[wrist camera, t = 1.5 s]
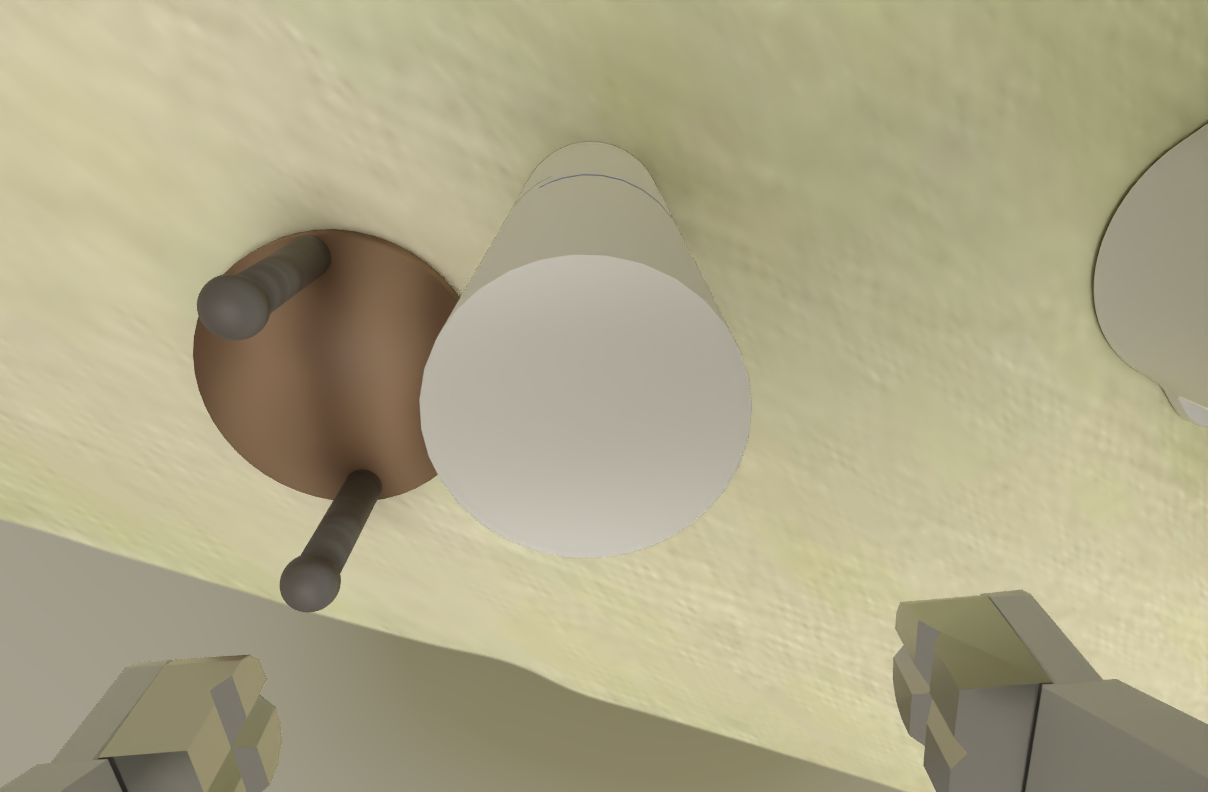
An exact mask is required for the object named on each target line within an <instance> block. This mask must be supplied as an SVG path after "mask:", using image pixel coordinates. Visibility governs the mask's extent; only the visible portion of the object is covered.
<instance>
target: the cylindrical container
mask: <svg viewBox="0 0 1208 792" xmlns="http://www.w3.org/2000/svg"><path fill="white" fill-rule="evenodd" d="M419 401H420V417H421V430H422V434H423V437H424V441H425V445H426V448H427V452H428V456H429V458H430V460H431V462H432V464H433V466H434V468H435V470H436V472H437V474H438V476H439V478H440V480H441V482H442V483H443V484H444V485H445V487H446V488H447V489H448V491H449V492H450V493H451V495H452V496H453V497H454V499H455V500H456V501H457V503H458V504H459V505H460V506H461V507H462V508H464V509H465V510H466V511H467V512H468V513H469V514H470V515H471V516H472V517H474V518H475V519H476V520H477V521H478V522H479V523H480V524H481V525H483V526H485V527H486V528H488V529H490V530H491V531H493V532H495V533H496V534H498V535H500V536H501V537H503V538H505V539H506V540H508V541H510V542H513V543H516V544H518V545H521V546H524V547H526V548H529V549H531V550H534V551H537V552H541V553H547V554H552V555H557V556H562V557H568V558H602V557H609V556H616V555H623V554H628V553H631V552H634V551H638V550H641V549H644V548H647V547H651V546H653V545H655V544H657V543H659V542H661V541H663V540H665V539H667V538H669V537H671V536H673V535H675V534H677V533H679V532H680V531H682V530H683V529H684V528H686V527H687V526H688V525H690V524H691V523H692V522H694V521H695V520H696V519H698V518H699V517H701V516H702V515H703V514H704V513H705V512H706V511H707V510H708V509H709V507H710V506H711V505H712V504H713V503H714V502H715V501H716V500H717V499H718V498H719V496H720V495H721V494H722V493H723V492H724V490H725V489H726V487H727V485H728V484H729V482H730V480H731V479H732V477H733V475H734V473H735V472H736V470H737V468H738V467H739V465H740V462H741V459H742V456H743V453H744V450H745V447H746V444H747V441H748V438H749V430H750V421H751V412H752V402H751V392H750V381H749V377H748V374H747V371H746V367H745V364H744V361H743V357H742V354H741V352H740V350H739V348H738V346H737V344H736V342H735V340H734V338H733V336H732V334H731V332H730V330H729V328H728V326H727V324H726V322H725V320H724V318H723V316H722V314H721V312H720V310H719V308H718V306H717V304H716V302H715V300H714V298H713V296H712V294H711V292H710V290H709V288H708V286H707V284H706V282H705V280H704V278H703V276H702V274H701V273H700V271H699V269H698V267H697V265H696V263H695V261H694V259H693V257H692V255H691V253H690V251H689V249H688V247H687V245H686V243H685V241H684V239H683V237H682V236H681V234H680V232H679V230H678V228H677V226H676V224H675V222H674V220H673V218H672V216H671V214H670V212H669V210H668V208H667V206H666V204H665V202H664V200H663V198H662V196H661V194H660V192H659V190H658V188H657V186H656V184H655V183H654V181H653V179H652V177H651V175H650V173H649V172H648V171H647V170H646V168H645V167H644V166H643V165H642V164H641V162H640V161H638V160H637V159H636V158H635V157H633V156H632V155H631V154H629V153H628V152H626V151H624V150H622V149H620V148H618V147H616V146H614V145H610V144H605V143H601V142H581V143H575V144H571V145H568V146H566V147H563V148H560V149H559V150H557V151H555V152H554V153H552V154H551V155H549V156H548V157H547V158H546V159H544V160H543V161H542V162H541V163H540V164H539V165H538V166H537V168H536V169H535V171H534V172H533V173H532V175H531V176H530V178H529V179H528V181H527V183H526V185H525V187H524V188H523V190H522V192H521V194H520V195H519V197H518V199H517V201H516V202H515V204H514V206H513V208H512V209H511V211H510V213H509V215H508V216H507V218H506V220H505V222H504V223H503V225H502V227H501V229H500V230H499V232H498V234H497V235H496V237H495V239H494V241H493V242H492V244H491V246H490V247H489V249H488V251H487V253H486V254H485V256H484V258H483V259H482V261H481V263H480V265H479V266H478V268H477V270H476V271H475V273H474V275H473V277H472V278H471V280H470V282H469V283H468V285H467V287H466V289H465V290H464V292H463V294H462V296H461V297H460V299H459V301H458V302H457V304H456V306H455V308H454V309H453V311H452V313H451V314H450V316H449V318H448V320H447V321H446V323H445V325H444V326H443V328H442V330H441V332H440V333H439V335H438V337H437V338H436V341H435V343H434V346H433V348H432V351H431V353H430V356H429V358H428V361H427V363H426V366H425V368H424V374H423V380H422V387H421V393H420V399H419Z"/></svg>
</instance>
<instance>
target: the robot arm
mask: <svg viewBox="0 0 1208 792" xmlns="http://www.w3.org/2000/svg"><path fill="white" fill-rule="evenodd" d="M1094 302H1095V309H1096V314H1097V318H1098V321H1099V324H1100V327H1101V329H1102V332H1103V334H1104V336H1105V338H1106V340H1107V341H1108V343H1109V344H1110V346H1111V347H1112V349H1113V350H1114V351H1115V352H1116V354H1117V355H1118V356H1119V357H1120V358H1121V359H1122V360H1123V361H1124V362H1126V363H1127V364H1128V365H1129V366H1131V367H1132V368H1133V369H1135V370H1137V371H1138V372H1140V373H1142V374H1143V375H1145V376H1147V377H1149V378H1150V379H1152V380H1153V381H1155V382H1156V383H1158V384H1159V385H1160V386H1161V387H1162V388H1163V389H1164V391H1165V393H1166V395H1167V397H1168V399H1169V401H1170V403H1171V404H1172V406H1173V408H1174V409H1175V411H1176V412H1177V413H1178V414H1179V415H1180V416H1181V417H1182V418H1183V419H1185V420H1187V421H1189V422H1192V423H1194V424H1196V425H1199V426H1205V427H1206V426H1208V123H1207V124H1206V125H1204V126H1203V127H1202V128H1201V129H1199V130H1198V131H1196V132H1195V133H1193V134H1192V135H1190V136H1189V137H1187V138H1186V139H1184V140H1183V141H1182V142H1180V143H1179V144H1177V145H1176V146H1175V147H1173V148H1172V149H1171V150H1169V151H1168V152H1167V153H1166V154H1164V155H1163V156H1162V157H1161V158H1160V159H1159V160H1158V161H1157V162H1155V163H1154V164H1153V165H1152V166H1151V167H1150V168H1149V169H1148V170H1147V171H1146V172H1145V174H1144V175H1143V176H1142V177H1141V178H1140V179H1139V180H1138V181H1137V183H1136V184H1135V185H1134V186H1133V187H1132V189H1131V190H1130V191H1129V193H1128V194H1127V196H1126V197H1125V198H1124V200H1123V201H1122V203H1121V205H1120V206H1119V208H1118V209H1117V211H1116V213H1115V215H1114V216H1113V218H1112V220H1111V222H1110V224H1109V226H1108V229H1107V231H1106V233H1105V236H1104V238H1103V241H1102V244H1101V247H1100V250H1099V254H1098V258H1097V263H1096V268H1095V276H1094ZM895 629H896V631H897V633H898V635H899V637H900V639H901V640H902V642H903V644H904V646H903V647H902V648H901V649H900V650H899V651H898V653H897V654H896V655H895V656H894V657H893V683H894V690H895V697H896V702H897V705H898V709H899V712H900V715H901V718H902V720H903V723H904V725H905V727H906V729H907V731H908V734H909V735H910V736H911V737H913V738H914V739H916V740H917V741H918V742H920V743H921V744H923V745H924V746H925V752H924V767H925V769H926V771H927V773H928V776H929V778H930V780H931V782H932V784H933V786H934V788H935V790H936V792H1208V724H1206V723H1204V722H1202V721H1200V720H1198V719H1196V718H1194V717H1192V716H1190V715H1188V714H1186V713H1184V712H1182V711H1180V710H1178V709H1176V708H1174V707H1172V706H1170V705H1168V704H1166V703H1164V702H1161V701H1159V700H1157V699H1155V698H1153V697H1151V696H1149V695H1147V694H1145V693H1143V692H1141V691H1139V690H1137V689H1135V688H1133V687H1131V686H1129V685H1127V684H1125V683H1123V682H1121V681H1119V680H1117V679H1111V680H1103V679H1102V678H1101V677H1100V675H1099V674H1098V673H1097V672H1096V671H1095V669H1094V668H1093V667H1092V666H1091V665H1090V664H1089V662H1088V661H1087V660H1086V659H1085V658H1084V656H1083V655H1082V654H1081V653H1080V652H1079V651H1078V649H1077V648H1076V647H1075V646H1074V645H1073V644H1072V642H1071V641H1070V640H1069V639H1068V638H1067V636H1066V635H1065V634H1064V633H1063V632H1062V631H1061V629H1060V628H1059V627H1058V626H1057V625H1056V623H1055V622H1054V621H1053V620H1052V619H1051V618H1050V616H1049V615H1048V614H1047V613H1046V612H1045V610H1044V609H1043V608H1042V607H1041V606H1040V605H1039V603H1038V602H1037V601H1036V600H1035V599H1034V598H1033V596H1032V595H1031V594H1029V593H1027V592H1025V591H1023V590H1014V591H1004V592H995V593H985V594H981V595H980V596H966V597H954V598H943V599H931V600H920V601H908V602H900V604H899V607H898V610H897V614H896V626H895ZM266 681H267V678H266V675H265V673H264V670H263V668H262V665H261V662H260V659H258V658H256V657H254V656H252V655H238V656H221V657H204V658H188V659H175V660H162V661H147V662H137V663H135V664H132V665H130V666H128V667H126V668H125V669H124V670H123V671H122V673H121V674H120V675H119V676H118V678H117V679H116V680H115V682H114V683H113V684H112V685H111V687H110V688H109V689H108V690H107V692H106V693H105V694H104V696H103V697H102V698H101V699H100V701H99V702H98V703H97V704H96V706H95V707H94V708H93V710H92V711H91V712H90V714H89V715H88V716H87V717H86V719H85V720H84V721H83V722H82V724H81V725H80V726H79V727H78V729H77V730H76V731H75V733H74V734H73V735H72V736H71V738H70V739H69V740H68V741H67V743H66V744H65V745H64V746H63V748H62V749H61V750H60V752H59V753H58V754H57V755H56V757H55V758H54V759H53V760H52V762H51V763H48V764H37V765H36V766H34V767H33V768H31V769H29V770H28V771H26V772H25V773H23V774H21V775H20V776H19V777H17V778H15V779H14V780H12V781H11V782H9V783H7V784H6V785H4V786H3V787H1V788H0V792H262V791H263V790H264V789H265V788H266V787H268V786H269V785H270V783H271V781H272V778H273V776H274V773H275V771H276V769H277V766H278V762H279V756H280V750H281V744H282V736H281V735H282V734H281V722H280V719H279V716H278V712H277V709H276V707H275V706H274V705H273V704H271V703H270V702H269V701H268V700H266V699H265V698H264V697H262V696H261V695H260V692H261V690H262V688H263V686H264V684H265V682H266Z"/></svg>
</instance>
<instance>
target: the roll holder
mask: <svg viewBox="0 0 1208 792" xmlns="http://www.w3.org/2000/svg"><path fill="white" fill-rule="evenodd" d="M459 299H460V298H459V296H458V295H457V294H456V292H455V291H454V290H453V288H452V287H451V286H450V285H449V284H448V283H447V282H446V281H445V280H444V278H443V277H442V276H441V275H440V274H438V273H437V272H436V271H435V270H434V269H433V268H432V267H430V266H429V265H428V264H427V263H425V262H424V261H423V260H421V259H420V258H418V257H417V256H415V255H414V254H412V253H411V252H409V251H407V250H405V249H403V248H401V247H399V246H397V245H395V244H393V243H391V242H388V241H386V240H383V239H380V238H377V237H375V236H371V235H367V234H363V233H358V232H353V231H344V230H313V231H306V232H300V233H295V234H292V235H289V236H286V237H282V238H279V239H277V240H275V241H273V242H271V243H269V244H266V245H264V246H262V247H261V248H259V249H257V250H255V251H253V252H251V253H250V254H248V255H247V256H245V257H244V258H242V259H241V260H239V261H238V262H236V263H235V264H234V265H233V266H232V267H231V268H230V269H229V270H228V271H227V272H226V273H224V274H223V275H220V276H217V277H215V278H213V279H212V280H210V281H209V282H208V283H207V284H206V285H205V286H204V287H203V288H202V290H201V292H200V294H199V296H198V300H197V311H198V315H199V317H198V320H197V325H196V330H195V335H194V347H193V359H194V369H195V375H196V380H197V384H198V388H199V391H200V394H201V396H202V399H203V402H204V404H205V407H206V409H207V411H208V412H209V414H210V416H211V418H212V420H213V422H214V423H215V425H216V426H217V428H218V429H219V431H220V432H221V434H222V435H223V436H224V438H225V439H226V440H227V441H228V442H229V443H230V445H231V446H232V447H233V448H234V449H235V450H236V451H237V452H238V453H239V454H240V455H241V456H242V457H243V458H244V459H246V460H247V461H248V462H249V463H250V464H251V465H253V466H254V467H255V468H257V469H258V470H260V471H261V472H262V473H264V474H265V475H267V476H269V477H270V478H272V479H274V480H276V481H277V482H279V483H281V484H283V485H285V486H288V487H290V488H292V489H295V490H297V491H300V492H303V493H306V494H309V495H312V496H316V497H321V498H326V499H331V500H334V501H333V502H332V504H331V506H330V507H329V509H328V511H327V512H326V514H325V516H324V517H323V519H322V521H321V522H320V524H319V526H318V527H317V529H316V531H315V532H314V534H313V536H312V537H311V539H310V541H309V542H308V544H307V546H306V547H305V549H304V551H303V552H302V554H301V556H299V557H297V558H295V559H294V560H292V561H291V562H290V563H289V564H288V565H287V566H286V568H285V569H284V571H283V573H282V575H281V579H280V591H281V595H282V597H283V599H284V601H285V602H286V603H287V604H288V605H289V606H290V607H292V608H293V609H295V610H298V611H301V612H315V611H318V610H321V609H323V608H325V607H326V606H328V605H329V604H330V603H331V602H332V601H333V600H334V599H335V597H336V596H337V594H338V592H339V589H340V584H341V577H340V573H341V571H342V569H343V567H344V565H345V563H346V561H347V559H348V557H349V555H350V553H351V551H352V549H353V547H354V545H355V543H356V541H357V539H358V537H359V535H360V533H361V531H362V529H363V527H364V525H365V523H366V521H367V519H368V517H369V515H370V513H371V511H372V509H373V507H374V505H375V503H376V501H377V500H378V499H385V498H389V497H393V496H396V495H400V494H403V493H405V492H408V491H410V490H413V489H415V488H417V487H419V486H421V485H422V484H424V483H426V482H428V481H429V480H431V479H432V478H434V477H435V476H436V475H438V474H437V472H436V470H435V468H434V466H433V464H432V462H431V460H430V458H429V456H428V452H427V448H426V445H425V441H424V437H423V434H422V430H421V417H420V401H419V399H420V393H421V387H422V380H423V374H424V368H425V366H426V363H427V361H428V358H429V356H430V353H431V351H432V348H433V346H434V343H435V341H436V338H437V337H438V335H439V333H440V332H441V330H442V328H443V326H444V325H445V323H446V321H447V320H448V318H449V316H450V314H451V313H452V311H453V309H454V308H455V306H456V304H457V302H458V301H459Z"/></svg>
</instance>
